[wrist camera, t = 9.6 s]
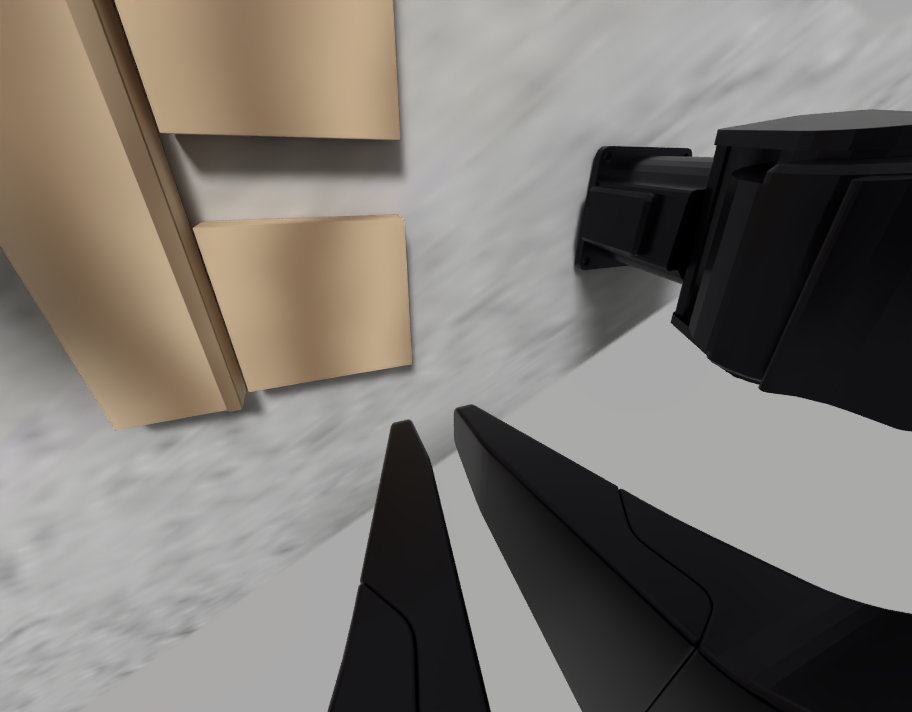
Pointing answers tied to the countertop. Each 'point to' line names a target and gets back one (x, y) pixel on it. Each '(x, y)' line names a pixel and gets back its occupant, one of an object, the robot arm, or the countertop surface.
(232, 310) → the plank
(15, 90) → the laid board
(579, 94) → the countertop surface
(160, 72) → the plank
